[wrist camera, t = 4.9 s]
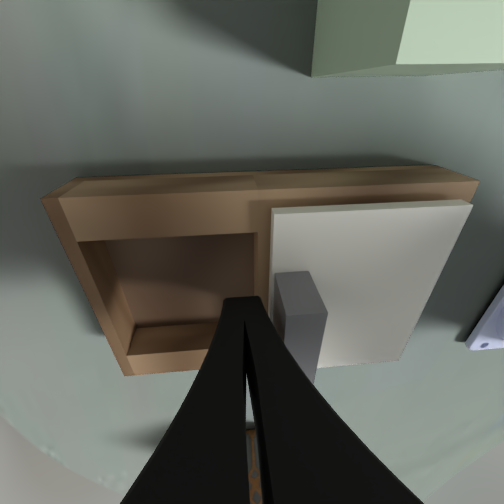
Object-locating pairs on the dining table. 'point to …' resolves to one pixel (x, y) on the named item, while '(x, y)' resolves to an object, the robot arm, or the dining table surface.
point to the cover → (356, 276)
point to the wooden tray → (200, 245)
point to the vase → (253, 467)
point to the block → (407, 37)
